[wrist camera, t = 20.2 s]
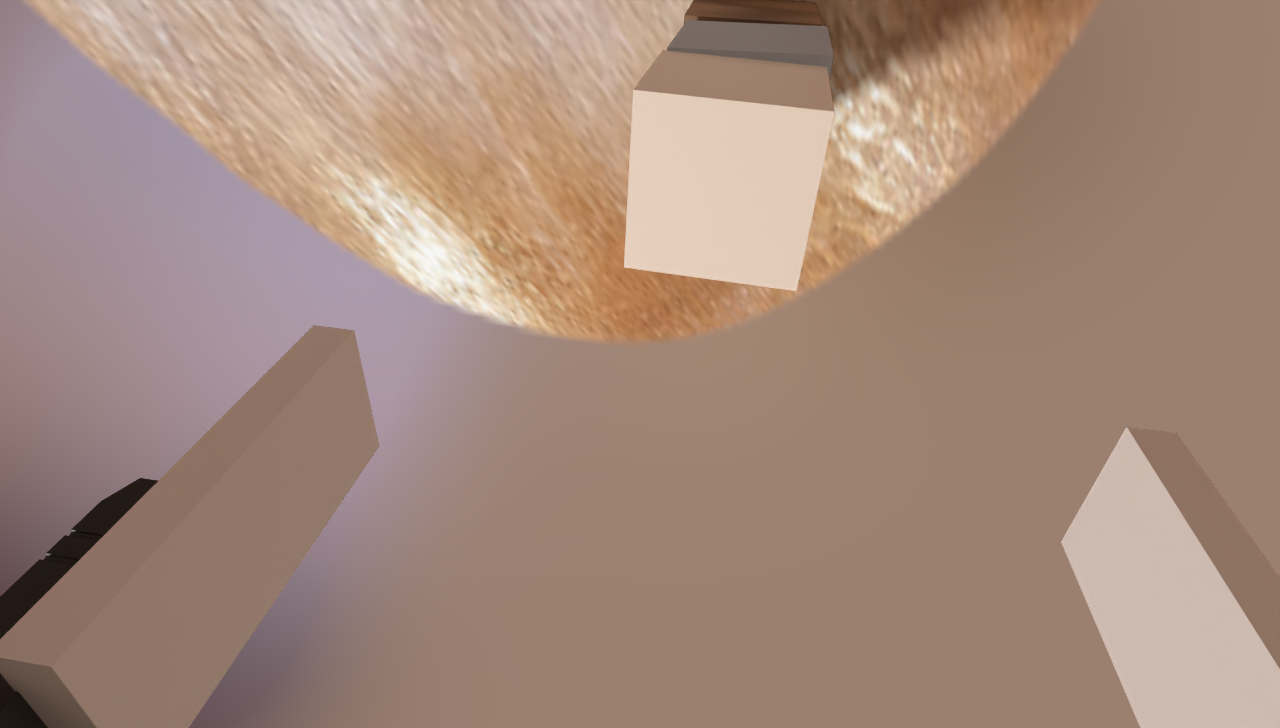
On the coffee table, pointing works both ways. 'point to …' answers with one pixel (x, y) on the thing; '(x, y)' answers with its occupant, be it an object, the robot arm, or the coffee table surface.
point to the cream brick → (726, 167)
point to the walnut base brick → (754, 12)
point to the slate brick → (757, 42)
